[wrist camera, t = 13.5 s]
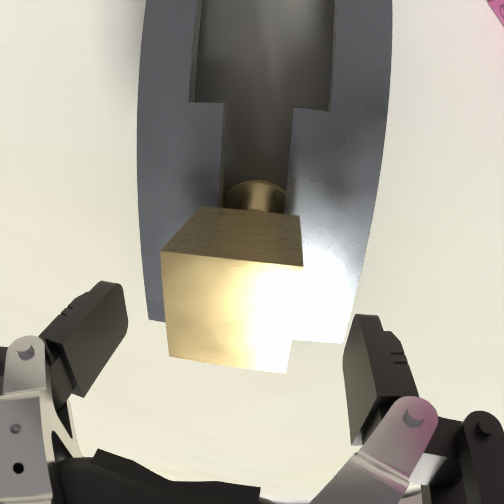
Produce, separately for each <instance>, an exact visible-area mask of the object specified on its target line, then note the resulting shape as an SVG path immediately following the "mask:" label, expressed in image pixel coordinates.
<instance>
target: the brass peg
mask: <svg viewBox="0 0 504 504" xmlns="http://www.w3.org/2000/svg"><path fill="white" fill-rule="evenodd" d="M285 196H286V191H285V190H284V189H283V188H282V187H280V186H278V185H277V184H275V183H272V182H269V181H266V180H248V181H244V182H242V183H239V184H238V185H236V186H234V187H233V188H232V189H230V190H229V191H228V192H227V194H226V195H225V196H224V197H223V208H217V207H205V206H201V207H200V208H199V209H198V210H197V211H196V212H195V213H194V214H193V215H192V216H191V217H190V219H189V220H188V221H187V222H186V223H185V224H184V225H183V226H182V227H181V228H180V229H179V231H178V232H177V233H176V234H175V235H174V236H173V237H172V238H171V239H170V241H169V242H168V243H167V244H166V245H165V246H164V247H163V248H162V250H161V251H160V256H161V272H162V286H163V298H164V309H165V320H166V330H167V339H168V348H169V356H171V357H176V358H182V359H187V360H193V361H199V362H205V363H211V364H218V365H224V366H231V367H239V368H246V369H254V370H263V371H272V372H281V373H285V372H286V367H287V362H288V357H289V351H290V346H291V341H292V335H293V329H294V324H295V318H296V312H297V307H298V301H299V295H300V288H301V282H302V276H303V270H304V262H303V249H302V237H301V225H300V216H297V215H288V214H284V207H285Z"/></svg>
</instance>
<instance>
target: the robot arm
mask: <svg viewBox="0 0 504 504" xmlns="http://www.w3.org/2000/svg"><path fill="white" fill-rule="evenodd" d="M127 328H128V317H127V311H126V305H125V299H124V293H123V288H122V286H121V285H120V284H118V283H112V282H106V281H100V282H98V283H97V284H96V285H95V286H94V287H93V288H92V289H91V290H90V291H89V292H86V293H84V294H82V295H80V296H78V297H77V298H75V299H74V300H73V301H72V302H71V303H70V304H69V305H68V307H67V308H65V309H64V310H63V311H62V312H61V315H60V314H59V315H58V316H57V317H56V318H55V319H54V320H53V321H52V322H51V323H50V325H49V326H48V327H47V328H46V329H45V330H44V331H43V332H42V333H41V334H40V335H39V336H38V337H36V336H25V337H21V338H19V339H17V340H15V341H14V342H13V343H12V344H11V345H10V346H9V347H0V504H277V503H274V502H272V501H270V500H268V499H265V498H262V497H259V495H260V488H261V487H254V486H246V485H238V484H232V483H225V482H219V481H202V482H185V481H170V480H167V479H165V478H163V477H162V476H160V475H158V474H156V473H154V472H152V471H150V470H149V469H147V468H145V467H143V466H142V465H140V464H138V463H136V462H135V461H133V460H130V459H126V458H123V457H120V456H118V455H115V454H112V453H109V452H106V451H103V450H101V449H97V451H96V453H95V455H94V457H83V456H82V454H81V451H80V449H79V446H78V442H77V437H76V432H75V427H74V422H73V417H72V411H71V405H70V402H69V400H68V398H69V396H70V395H71V393H72V394H75V395H77V396H80V397H83V398H84V397H85V395H86V394H87V392H88V391H89V389H90V387H91V386H92V384H93V383H94V381H95V380H96V378H97V377H98V375H99V374H100V372H101V371H102V369H103V368H104V366H105V365H106V363H107V362H108V360H109V359H110V357H111V356H112V354H113V353H114V351H115V350H116V348H117V347H118V345H119V344H120V342H121V341H122V339H123V338H124V336H125V335H126V332H127ZM407 363H408V361H407V359H406V356H405V355H404V350H403V347H402V345H401V342H400V341H399V340H398V338H397V337H396V336H395V335H394V334H393V333H392V332H391V331H383V328H382V325H381V322H380V319H379V317H378V316H377V315H364V314H356V315H355V316H354V319H353V322H352V325H351V329H350V332H349V336H348V339H347V343H346V346H345V349H344V354H343V373H344V381H345V389H346V398H347V407H348V417H349V427H350V437H351V445H363V446H362V447H361V449H360V450H359V451H358V452H357V453H355V454H354V455H353V456H352V457H351V458H350V459H349V460H348V461H347V463H346V464H345V465H344V466H343V467H342V469H341V470H340V471H339V472H338V473H337V474H336V475H335V476H334V478H333V479H332V480H331V481H330V482H329V483H328V484H327V485H326V486H325V487H324V489H323V490H322V491H321V492H320V493H319V494H318V495H317V496H316V497H315V498H314V499H313V500H312V501H311V502H310V503H309V504H398V502H399V501H400V499H401V498H402V496H403V495H404V493H405V491H406V490H407V488H408V486H409V482H411V483H416V484H421V492H422V502H423V504H504V431H503V429H502V426H501V424H500V422H499V421H498V420H497V418H496V417H494V416H493V415H492V414H490V413H488V412H485V411H474V412H472V413H470V414H469V415H468V416H467V417H466V418H465V420H464V421H463V422H461V421H456V420H451V419H446V418H442V417H439V416H438V414H437V412H436V410H435V408H434V407H433V406H432V405H431V404H430V403H429V402H428V401H426V400H424V399H422V398H420V397H419V394H418V391H417V388H416V385H415V382H414V379H413V376H412V373H411V370H410V367H409V364H407Z"/></svg>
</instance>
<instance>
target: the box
mask: <svg viewBox="0 0 504 504" xmlns="http://www.w3.org/2000/svg"><path fill="white" fill-rule="evenodd" d="M488 4H489V5H490V6H491V8H492V9H493V11H494V12H495V13H496V15H497V17H498V18H499V20H500V21H501V23H502V24H503V26H504V0H489V1H488Z"/></svg>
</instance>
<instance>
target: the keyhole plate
mask: <svg viewBox="0 0 504 504" xmlns="http://www.w3.org/2000/svg"><path fill="white" fill-rule="evenodd" d="M202 1H203V0H146V8H145V16H144V24H143V33H142V43H141V55H140V68H139V85H138V108H137V186H138V210H139V227H140V241H141V254H142V265H143V275H144V285H145V293H146V302H147V310H148V317H149V320H155V321H161V322H166V320H165V309H164V298H163V286H162V272H161V256H160V251H161V250H162V248H163V247H164V246H165V245H166V244H167V243H168V242H169V241H170V239H171V238H172V237H173V236H174V235H175V234H176V233H177V232H178V231H179V229H180V228H181V227H182V226H183V225H184V224H185V223H186V222H187V221H188V220H189V219H190V217H191V216H192V215H193V214H194V213H195V212H196V211H197V210H198V209H199V208H200V207H201V206H205V207H217V208H223V187H224V164H225V143H226V125H227V108H228V104H227V103H206V102H195V85H196V70H197V56H198V43H199V32H200V21H201V11H202ZM391 55H392V0H335V10H334V34H333V53H332V69H331V83H330V96H329V108H328V111H322V110H314V109H305V108H296V107H294V108H293V118H292V130H291V142H290V154H289V165H288V176H287V186H286V196H285V207H284V214H288V215H297V216H300V225H301V237H302V249H303V262H304V270H303V276H302V282H301V288H300V295H299V301H298V307H297V312H296V318H295V324H294V329H293V335H292V339H295V340H306V341H318V342H332V343H343V339H344V336H345V332H346V329H347V325H348V322H349V318H350V314H351V310H352V307H353V303H354V299H355V295H356V291H357V287H358V283H359V279H360V274H361V270H362V266H363V261H364V257H365V252H366V248H367V243H368V238H369V233H370V228H371V223H372V218H373V212H374V207H375V201H376V195H377V189H378V183H379V176H380V170H381V163H382V155H383V148H384V140H385V131H386V122H387V112H388V101H389V89H390V74H391Z"/></svg>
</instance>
